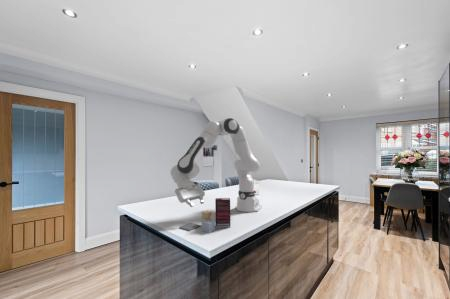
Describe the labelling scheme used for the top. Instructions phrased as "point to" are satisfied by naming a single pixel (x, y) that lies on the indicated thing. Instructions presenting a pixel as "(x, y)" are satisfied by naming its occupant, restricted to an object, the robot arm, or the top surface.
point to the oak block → (206, 215)
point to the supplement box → (222, 212)
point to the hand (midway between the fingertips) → (197, 204)
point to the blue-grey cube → (208, 226)
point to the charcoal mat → (190, 226)
